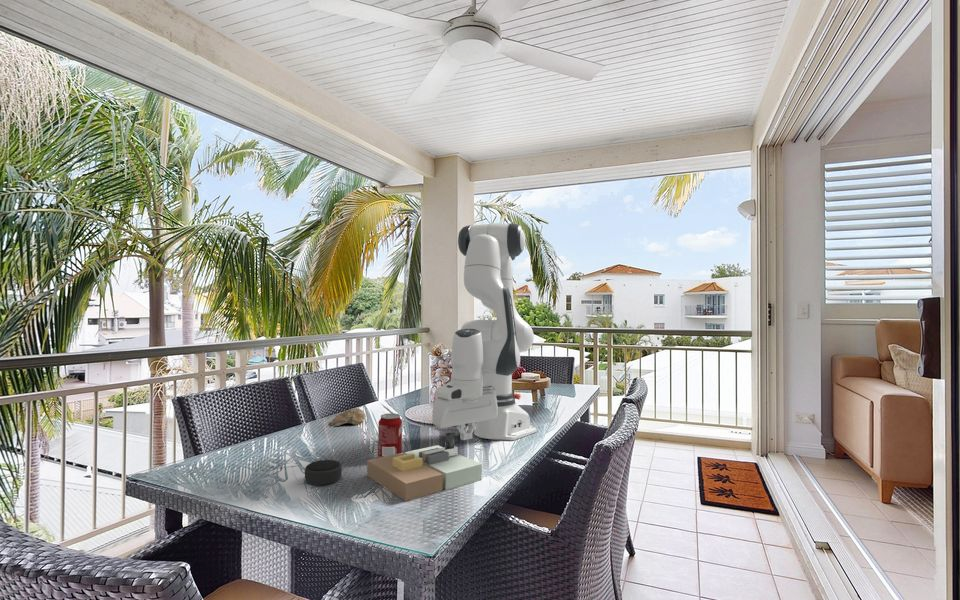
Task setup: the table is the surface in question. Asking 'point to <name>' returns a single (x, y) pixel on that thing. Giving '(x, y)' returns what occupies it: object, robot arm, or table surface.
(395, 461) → the door and jamb
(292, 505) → the table surface
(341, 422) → the oyster shell
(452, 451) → the bolt
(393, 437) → the soda can
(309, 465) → the smart speaker
